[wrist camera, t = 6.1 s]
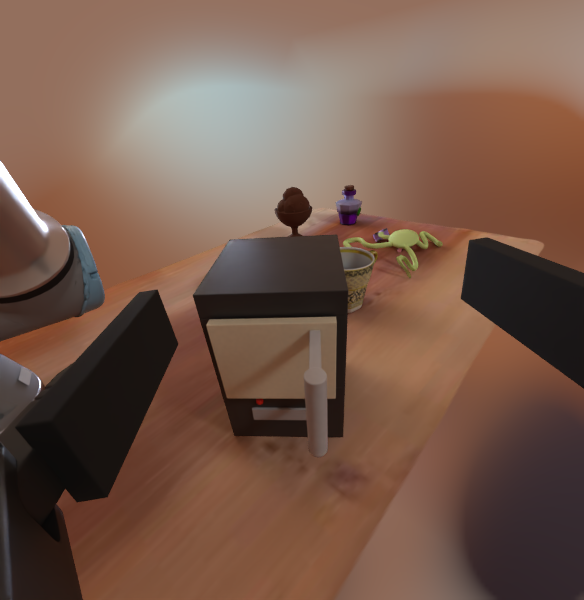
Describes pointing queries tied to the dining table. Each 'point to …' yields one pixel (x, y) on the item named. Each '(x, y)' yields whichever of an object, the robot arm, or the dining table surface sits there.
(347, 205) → the potion bottle
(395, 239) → the figurine
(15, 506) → the robot arm
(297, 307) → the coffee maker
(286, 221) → the ice cream bowl
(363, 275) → the ceramic cup
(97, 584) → the dining table surface
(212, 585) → the dining table surface
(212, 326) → the chamber door
